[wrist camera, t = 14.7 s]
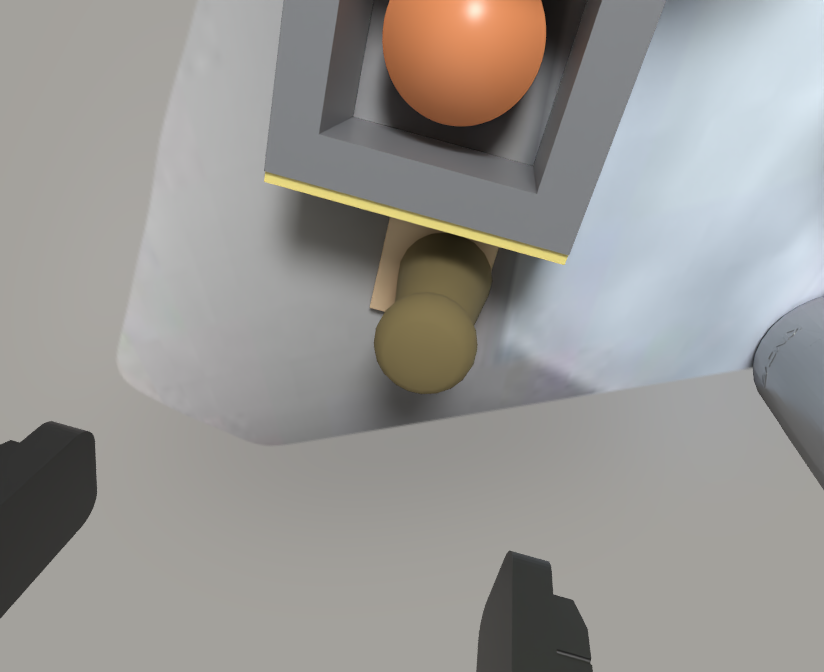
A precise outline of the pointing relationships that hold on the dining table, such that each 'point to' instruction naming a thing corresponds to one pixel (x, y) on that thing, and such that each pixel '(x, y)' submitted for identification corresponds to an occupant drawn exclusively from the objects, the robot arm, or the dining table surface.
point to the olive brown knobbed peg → (434, 314)
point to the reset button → (463, 55)
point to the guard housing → (440, 161)
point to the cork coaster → (393, 251)
